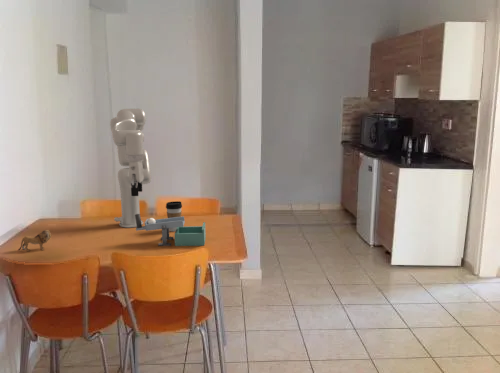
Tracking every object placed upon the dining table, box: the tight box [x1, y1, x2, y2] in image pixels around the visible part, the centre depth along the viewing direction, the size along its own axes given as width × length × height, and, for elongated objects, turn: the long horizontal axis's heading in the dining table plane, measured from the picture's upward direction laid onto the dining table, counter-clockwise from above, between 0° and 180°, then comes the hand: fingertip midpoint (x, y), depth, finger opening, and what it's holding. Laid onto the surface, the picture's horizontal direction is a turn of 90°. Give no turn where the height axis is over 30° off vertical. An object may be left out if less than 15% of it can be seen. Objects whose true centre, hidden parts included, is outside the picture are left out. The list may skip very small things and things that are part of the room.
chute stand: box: [157, 226, 175, 247], centre depth 231 cm, size 6×12×10 cm, turn 2°
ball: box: [147, 217, 156, 224], centre depth 230 cm, size 4×4×4 cm
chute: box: [135, 213, 185, 232], centre depth 230 cm, size 23×7×8 cm, turn 92°
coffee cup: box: [165, 200, 183, 233], centre depth 250 cm, size 8×8×15 cm
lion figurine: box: [17, 229, 52, 252], centre depth 221 cm, size 15×5×9 cm, turn 110°
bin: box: [173, 222, 207, 247], centre depth 232 cm, size 14×12×8 cm
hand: (137, 193), depth 226 cm, fingers open, 9 cm apart
